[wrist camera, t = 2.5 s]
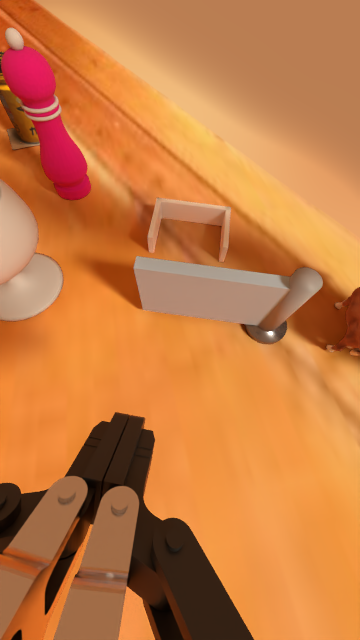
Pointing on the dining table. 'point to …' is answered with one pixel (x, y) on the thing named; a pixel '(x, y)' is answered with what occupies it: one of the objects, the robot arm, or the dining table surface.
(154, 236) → the pocket
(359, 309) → the bull figurine
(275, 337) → the lever base
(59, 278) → the chalice
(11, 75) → the pepper mill
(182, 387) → the dining table surface
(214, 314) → the paddle
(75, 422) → the dining table surface
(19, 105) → the condiment
